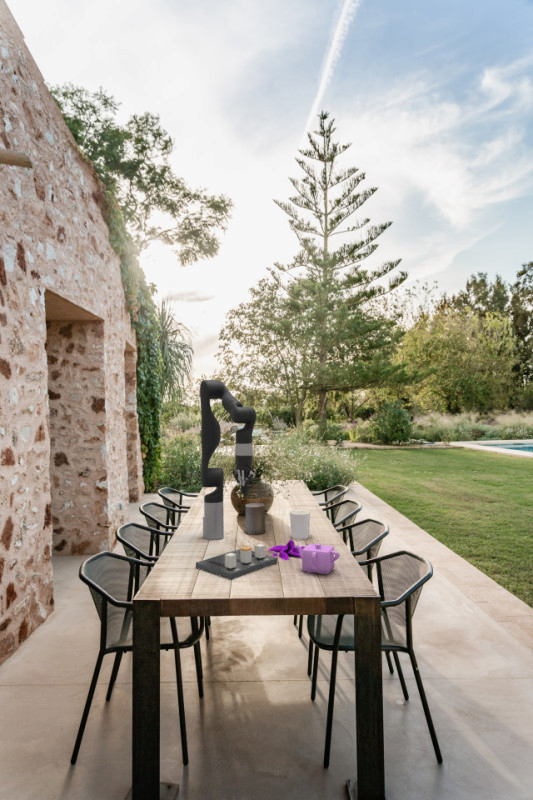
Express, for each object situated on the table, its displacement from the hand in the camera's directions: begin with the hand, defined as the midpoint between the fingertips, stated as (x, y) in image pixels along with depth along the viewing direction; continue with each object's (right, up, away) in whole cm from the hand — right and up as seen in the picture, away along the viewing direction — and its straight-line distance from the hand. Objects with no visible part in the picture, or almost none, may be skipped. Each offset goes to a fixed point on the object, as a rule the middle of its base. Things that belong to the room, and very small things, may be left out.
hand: (244, 494), depth 206 cm
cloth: (+19, -26, -3) cm, 32 cm away
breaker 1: (-4, -22, -26) cm, 34 cm away
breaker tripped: (+2, -22, -20) cm, 30 cm away
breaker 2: (+7, -22, -14) cm, 27 cm away
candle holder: (+26, -25, +23) cm, 43 cm away
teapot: (+29, -25, -24) cm, 45 cm away
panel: (-2, -25, -17) cm, 30 cm away
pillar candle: (+4, -26, +33) cm, 42 cm away
